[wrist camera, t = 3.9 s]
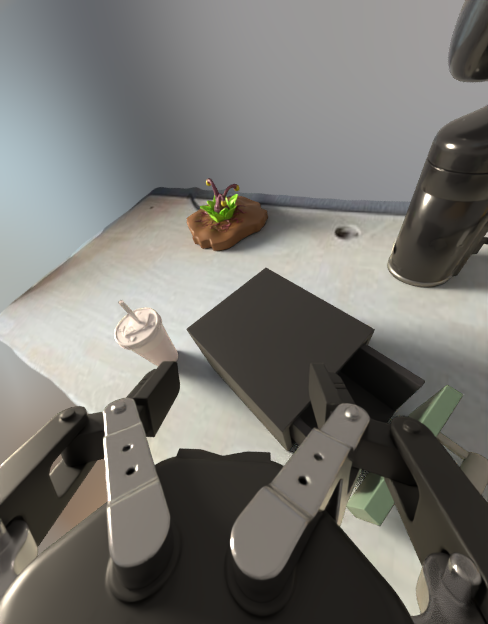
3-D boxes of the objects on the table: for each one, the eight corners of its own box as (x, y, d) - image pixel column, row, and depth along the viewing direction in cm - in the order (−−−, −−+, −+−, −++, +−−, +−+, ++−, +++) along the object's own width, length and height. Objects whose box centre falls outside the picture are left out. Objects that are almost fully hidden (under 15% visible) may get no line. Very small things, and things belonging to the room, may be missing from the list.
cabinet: (356, 372, 32) (375, 329, 23) (287, 451, 27) (282, 432, 19) (272, 313, 40) (265, 267, 32) (211, 366, 36) (186, 329, 28)
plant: (237, 197, 70) (228, 155, 61) (279, 220, 58) (275, 172, 49) (178, 227, 65) (159, 186, 57) (210, 259, 53) (192, 213, 45)
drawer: (466, 453, 24) (532, 435, 17) (401, 567, 20) (453, 603, 13) (315, 345, 34) (318, 307, 28) (254, 406, 31) (240, 380, 24)
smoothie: (193, 353, 38) (152, 297, 28) (164, 384, 36) (105, 336, 25) (170, 335, 42) (125, 279, 31) (142, 363, 39) (82, 312, 28)
